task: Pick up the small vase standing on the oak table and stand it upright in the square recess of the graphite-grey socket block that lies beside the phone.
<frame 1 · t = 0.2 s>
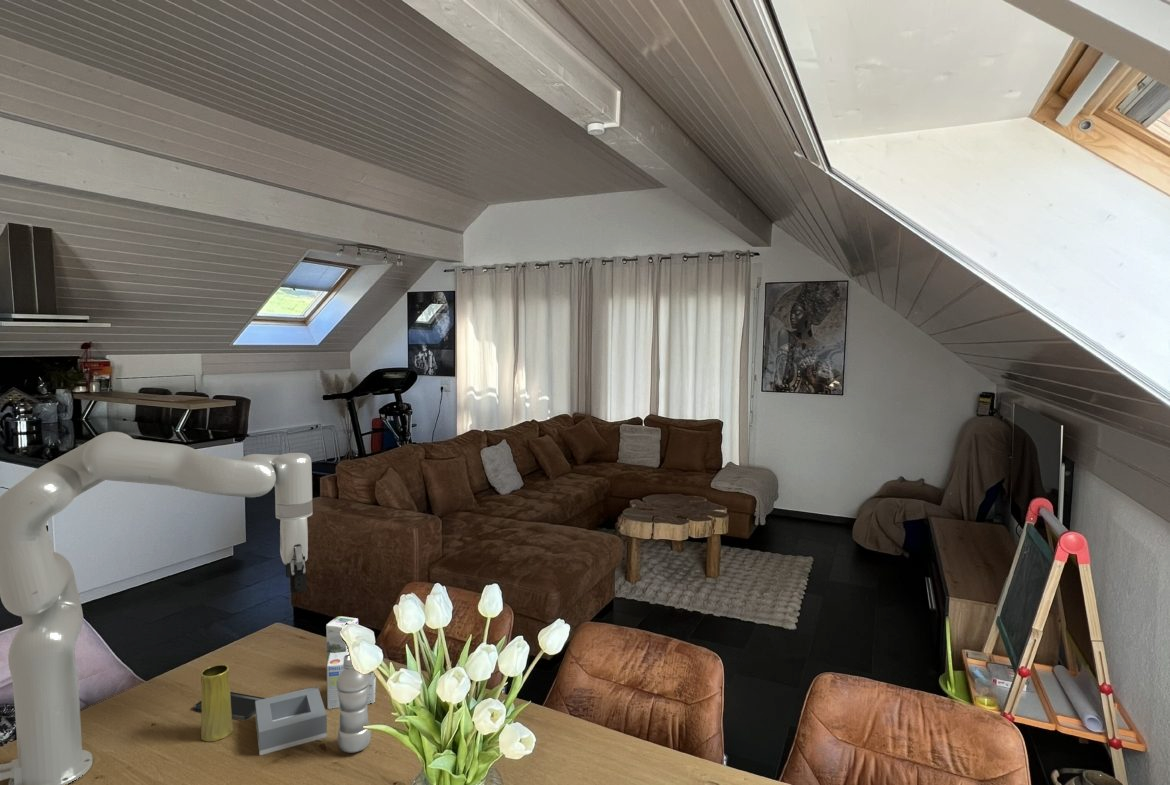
hand: (296, 583, 146), 31 cm above the table, tool pointing down, fingers open, 9 cm apart
plastic bottle: (354, 748, 136), on the table
light bulb box: (352, 700, 154), on the table
syrup box: (343, 676, 165), on the table
phone: (231, 708, 150), on the table
socket block: (290, 729, 142), on the table
vase: (217, 734, 140), on the table
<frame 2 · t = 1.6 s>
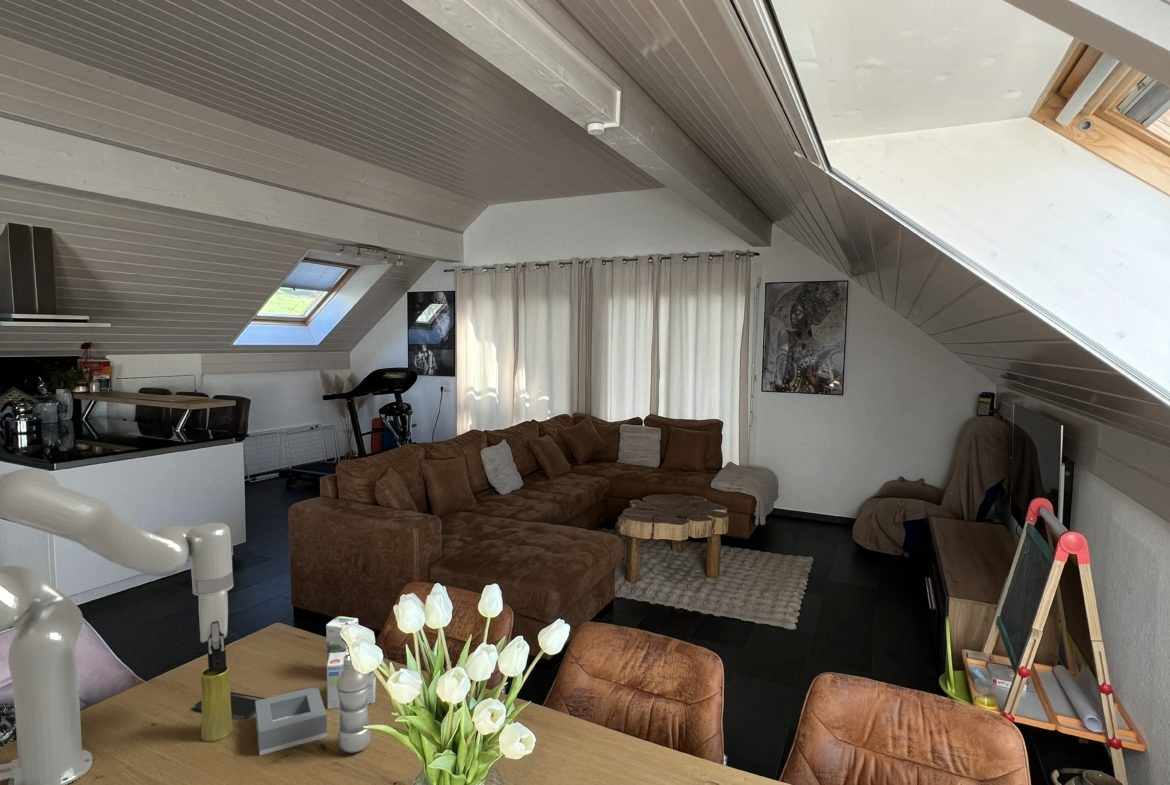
hand: (217, 659, 139), 17 cm above the table, tool pointing down, fingers open, 9 cm apart
nothing on the table moved.
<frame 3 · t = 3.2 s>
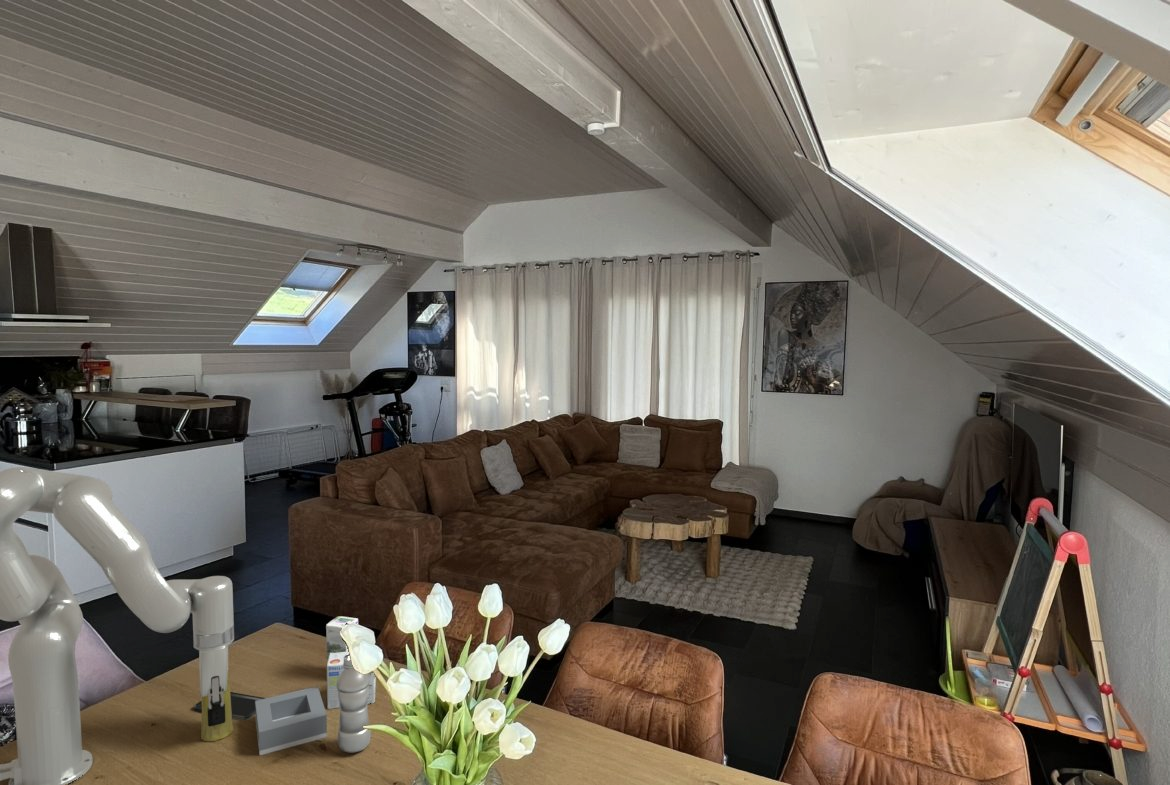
hand: (216, 715, 140), 4 cm above the table, tool pointing down, fingers closed on vase, 5 cm apart
vase: (217, 734, 140), on the table, touching gripper
everything else where it was.
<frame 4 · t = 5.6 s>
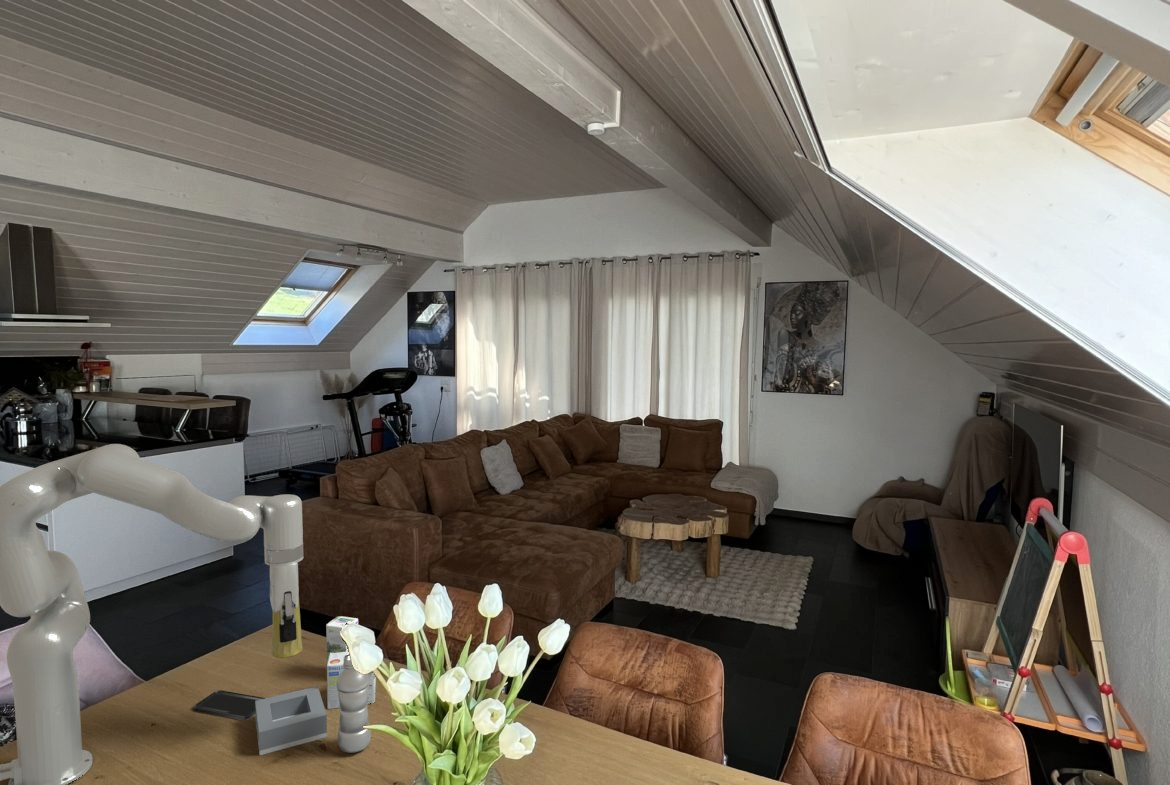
hand: (286, 633, 140), 22 cm above the table, tool pointing down, fingers closed on vase, 5 cm apart
vase: (287, 652, 141), point 18 cm above the table, touching gripper
everything else where it was.
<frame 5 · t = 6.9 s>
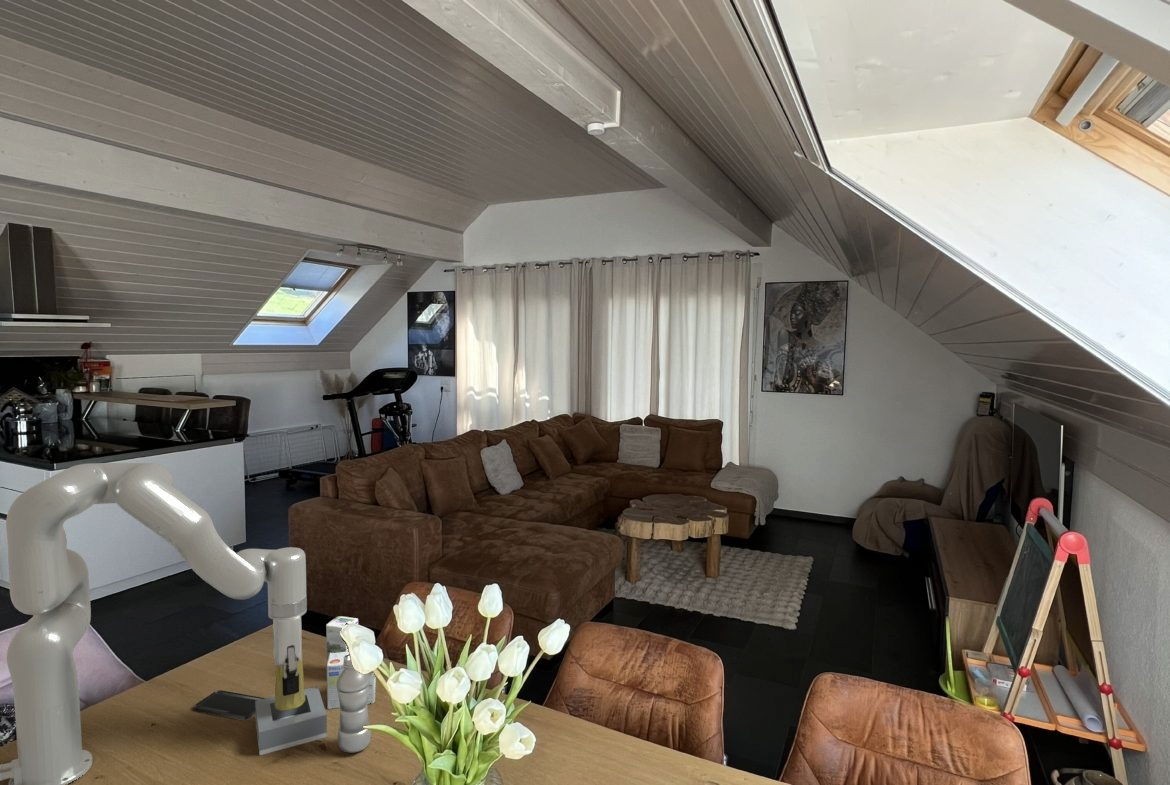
hand: (289, 685, 141), 10 cm above the table, tool pointing down, fingers closed on vase, 5 cm apart
vase: (290, 704, 142), point 6 cm above the table, touching gripper
everything else where it was.
when the fingers open (6 cm above the table, at t = 8.0 s): vase drops 1 cm, resting on socket block.
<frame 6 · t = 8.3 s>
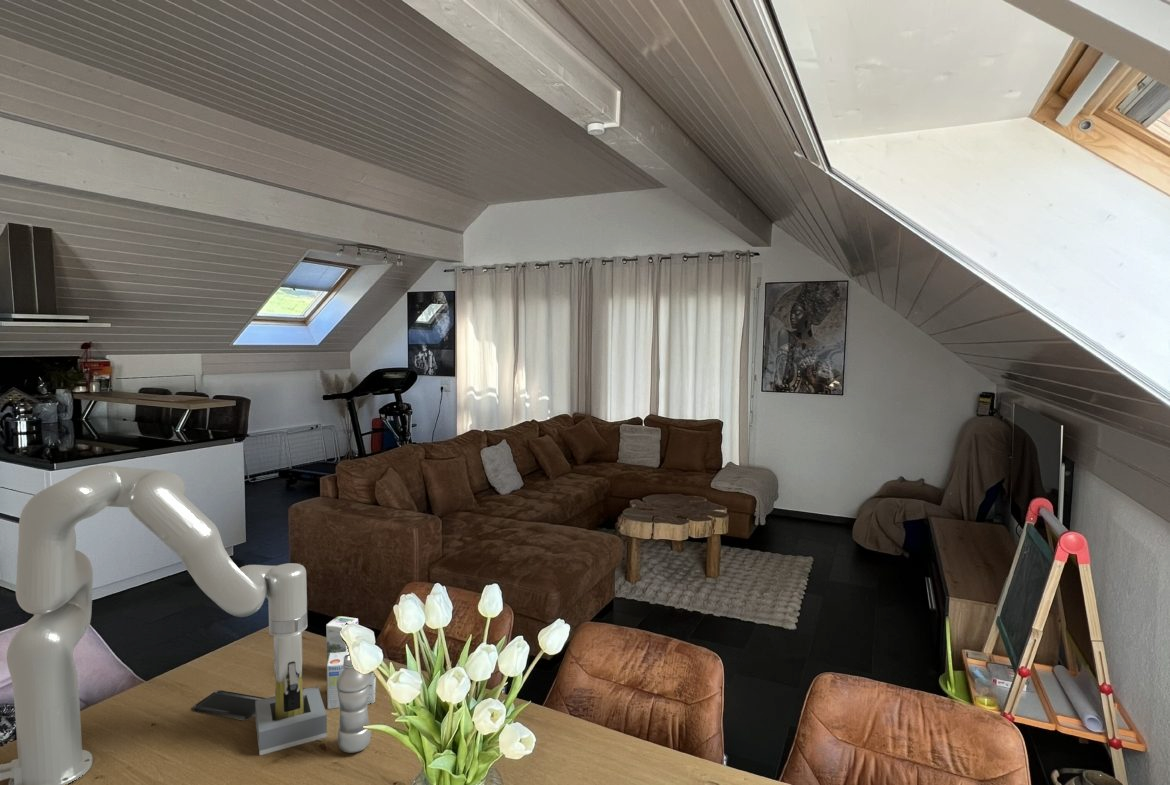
hand: (290, 699, 141), 7 cm above the table, tool pointing down, fingers open, 8 cm apart
vase: (289, 726, 142), point 1 cm above the table, touching socket block
everything else where it was.
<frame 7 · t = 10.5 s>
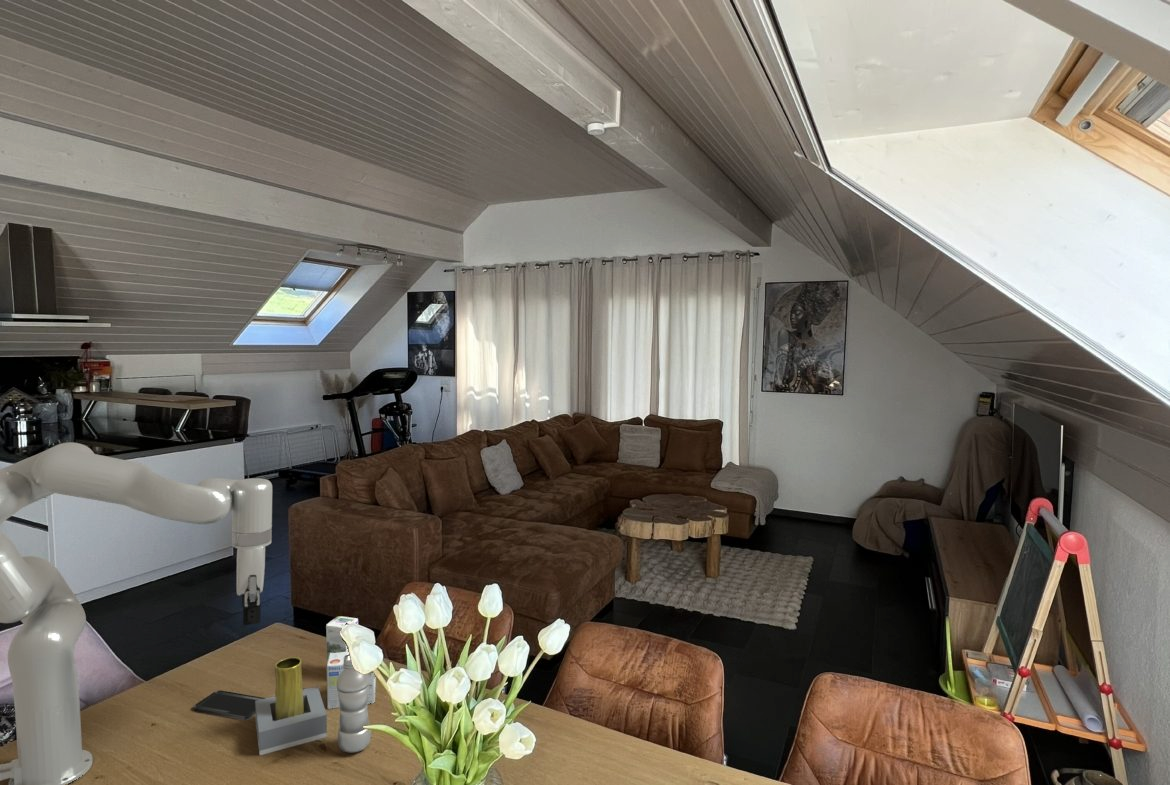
hand: (250, 614, 140), 26 cm above the table, tool pointing down, fingers open, 9 cm apart
nothing on the table moved.
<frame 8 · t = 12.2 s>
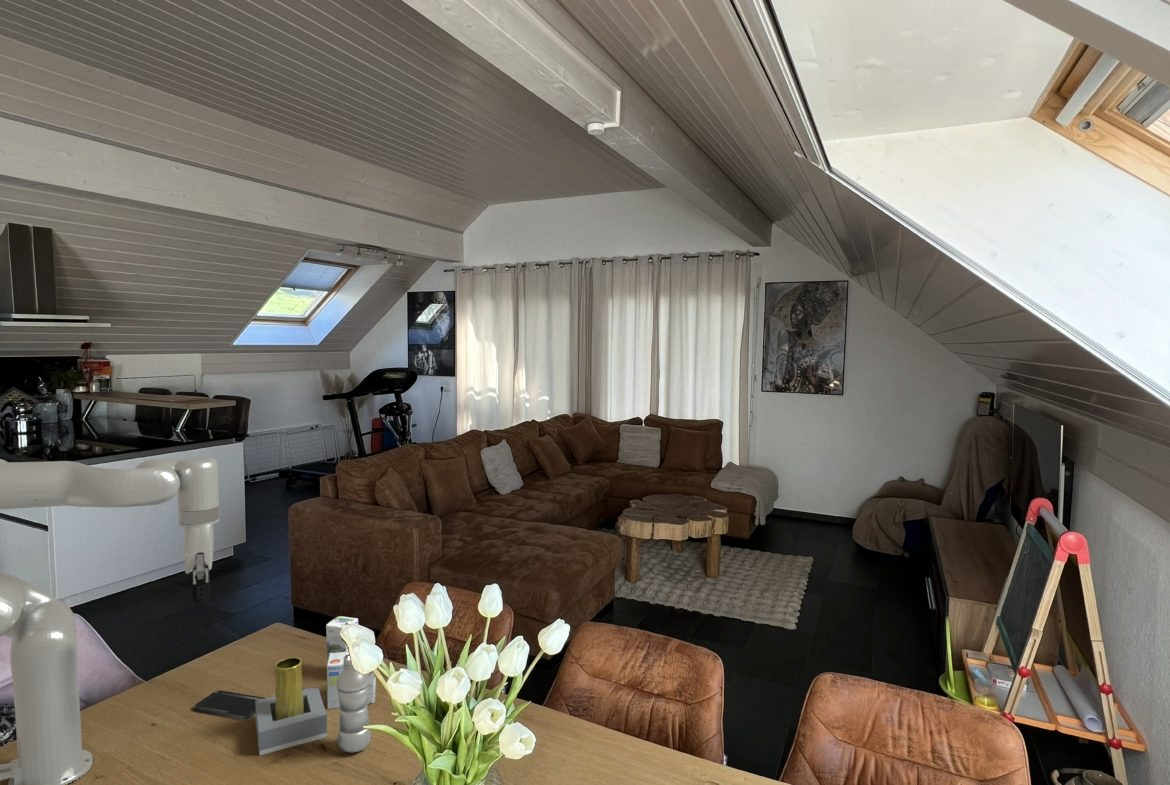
hand: (201, 592, 140), 30 cm above the table, tool pointing down, fingers open, 9 cm apart
nothing on the table moved.
at the end: vase 0.1 cm off-centre on the socket block, point 0.8 cm above the socket block's base; vase tilted 0°; the gripper is holding nothing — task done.
